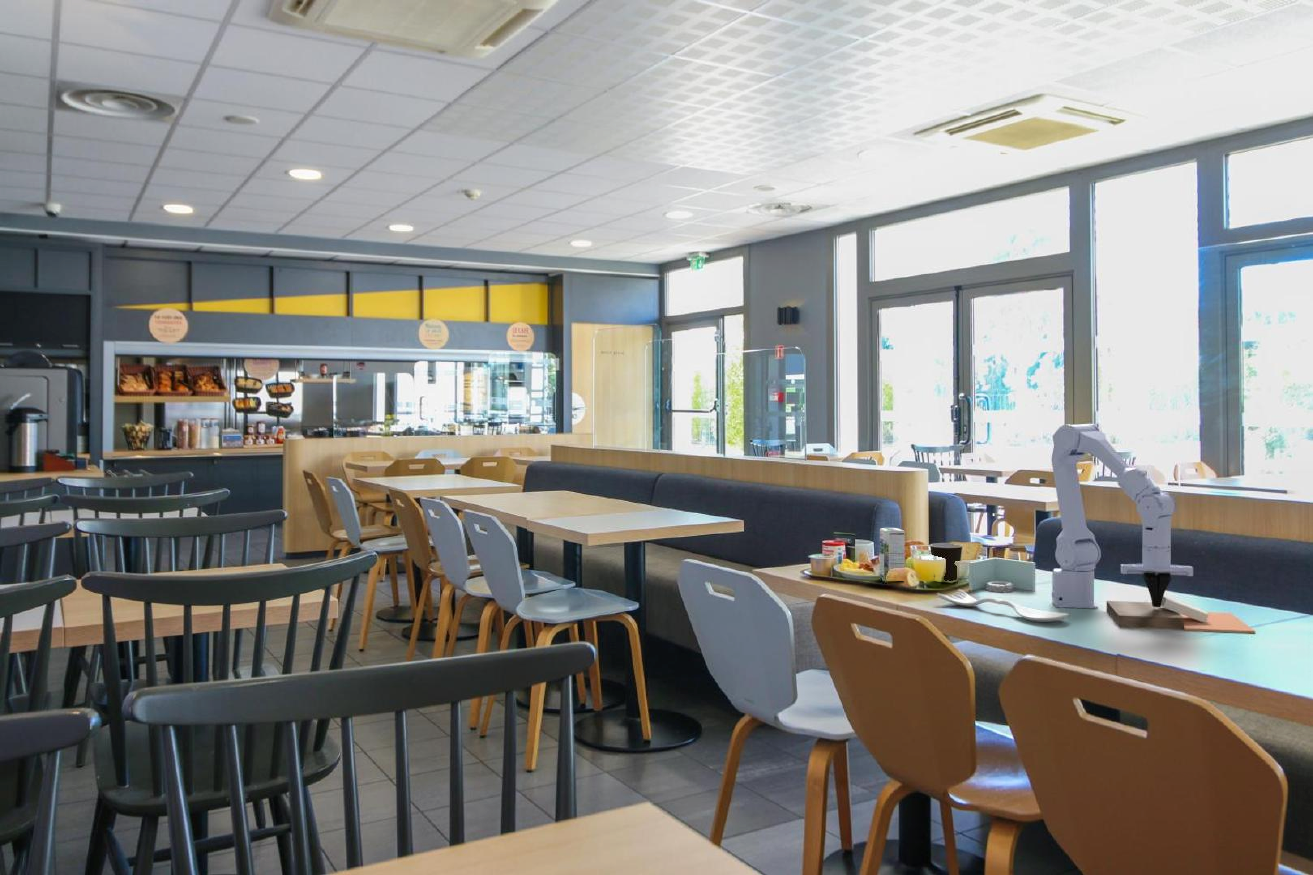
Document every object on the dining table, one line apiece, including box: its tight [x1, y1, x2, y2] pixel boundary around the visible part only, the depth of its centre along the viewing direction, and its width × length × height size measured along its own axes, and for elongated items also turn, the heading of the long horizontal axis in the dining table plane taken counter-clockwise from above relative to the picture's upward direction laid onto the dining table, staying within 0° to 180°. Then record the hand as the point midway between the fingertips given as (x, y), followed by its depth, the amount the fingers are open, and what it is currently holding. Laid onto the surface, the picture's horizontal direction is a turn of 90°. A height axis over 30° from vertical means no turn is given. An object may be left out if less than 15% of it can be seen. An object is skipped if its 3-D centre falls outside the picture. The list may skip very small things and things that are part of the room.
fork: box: [936, 589, 1069, 623], centre depth 234 cm, size 9×32×4 cm, turn 35°
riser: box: [1106, 600, 1184, 630], centre depth 225 cm, size 13×16×2 cm
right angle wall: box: [968, 557, 1036, 593], centre depth 262 cm, size 12×12×8 cm
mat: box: [1179, 611, 1256, 634], centre depth 221 cm, size 14×18×1 cm
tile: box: [1161, 594, 1209, 623], centre depth 223 cm, size 9×6×2 cm, turn 76°
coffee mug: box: [929, 542, 963, 581], centre depth 276 cm, size 12×9×10 cm
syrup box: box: [878, 527, 906, 583], centre depth 277 cm, size 6×6×14 cm
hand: (1156, 606), depth 224 cm, fingers closed
